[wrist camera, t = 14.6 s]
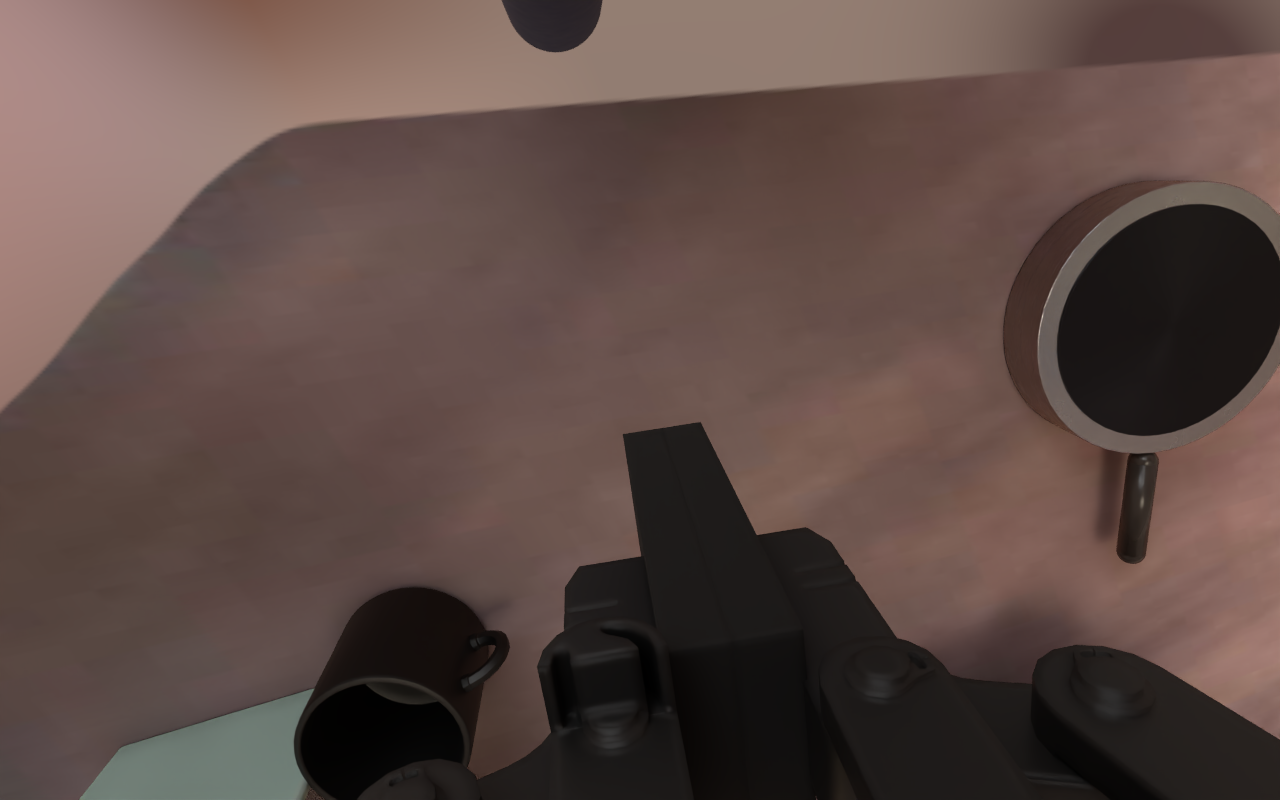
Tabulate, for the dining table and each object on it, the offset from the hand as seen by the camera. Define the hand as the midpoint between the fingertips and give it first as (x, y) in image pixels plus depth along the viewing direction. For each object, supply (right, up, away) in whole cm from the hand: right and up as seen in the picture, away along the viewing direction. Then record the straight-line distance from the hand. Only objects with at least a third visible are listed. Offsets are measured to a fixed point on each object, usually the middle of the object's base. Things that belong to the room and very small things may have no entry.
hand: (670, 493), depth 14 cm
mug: (-14, -14, +34) cm, 39 cm away
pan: (+30, +3, +32) cm, 44 cm away
